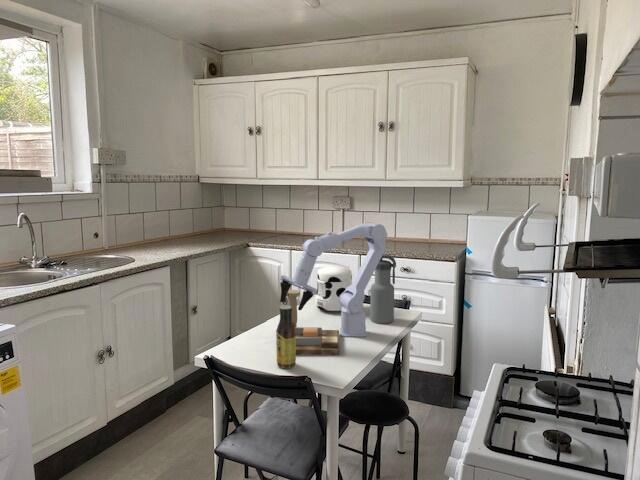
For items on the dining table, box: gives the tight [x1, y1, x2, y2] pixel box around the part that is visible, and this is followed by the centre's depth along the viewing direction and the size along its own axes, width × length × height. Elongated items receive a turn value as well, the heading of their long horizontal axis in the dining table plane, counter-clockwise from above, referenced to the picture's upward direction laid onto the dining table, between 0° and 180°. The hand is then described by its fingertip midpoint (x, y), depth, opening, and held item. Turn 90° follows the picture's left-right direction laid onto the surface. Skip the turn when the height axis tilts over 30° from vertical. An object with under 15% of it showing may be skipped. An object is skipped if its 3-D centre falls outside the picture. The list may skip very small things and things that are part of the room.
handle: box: [286, 289, 301, 327], centre depth 191 cm, size 5×6×15 cm
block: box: [303, 328, 318, 337], centre depth 174 cm, size 5×5×4 cm
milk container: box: [315, 266, 353, 313], centre depth 216 cm, size 17×17×18 cm
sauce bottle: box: [275, 304, 297, 369], centre depth 154 cm, size 7×6×20 cm
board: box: [296, 329, 341, 356], centre depth 174 cm, size 20×20×2 cm
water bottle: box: [369, 253, 397, 325], centre depth 199 cm, size 10×10×28 cm
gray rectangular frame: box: [295, 326, 323, 345], centre depth 174 cm, size 14×12×2 cm
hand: (290, 305), depth 175 cm, fingers open, 7 cm apart
